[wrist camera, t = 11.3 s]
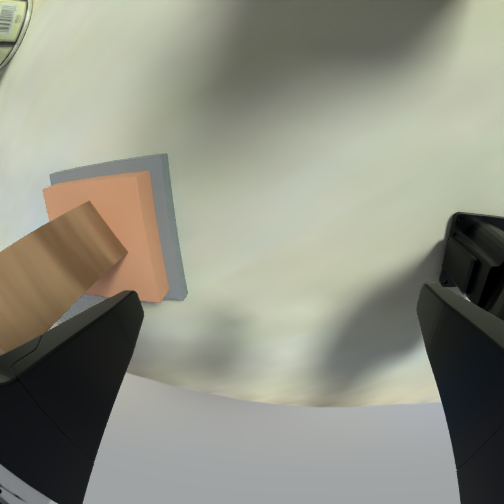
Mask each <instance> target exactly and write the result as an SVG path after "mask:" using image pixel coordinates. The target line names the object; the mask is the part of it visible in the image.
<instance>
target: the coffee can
mask: <svg viewBox="0 0 504 504" xmlns="http://www.w3.org/2000/svg"><path fill="white" fill-rule="evenodd" d="M31 11H32V0H0V69H1V68H2V67H3V66H5V65H6V63H8V61H9V60H10V59H11V57H12V56H13V55H14V53H15V52H16V50H17V49H18V47H19V45H20V43H21V41H22V39H23V37H24V35H25V32H26V29H27V27H28V24H29V20H30V17H31Z"/></svg>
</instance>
